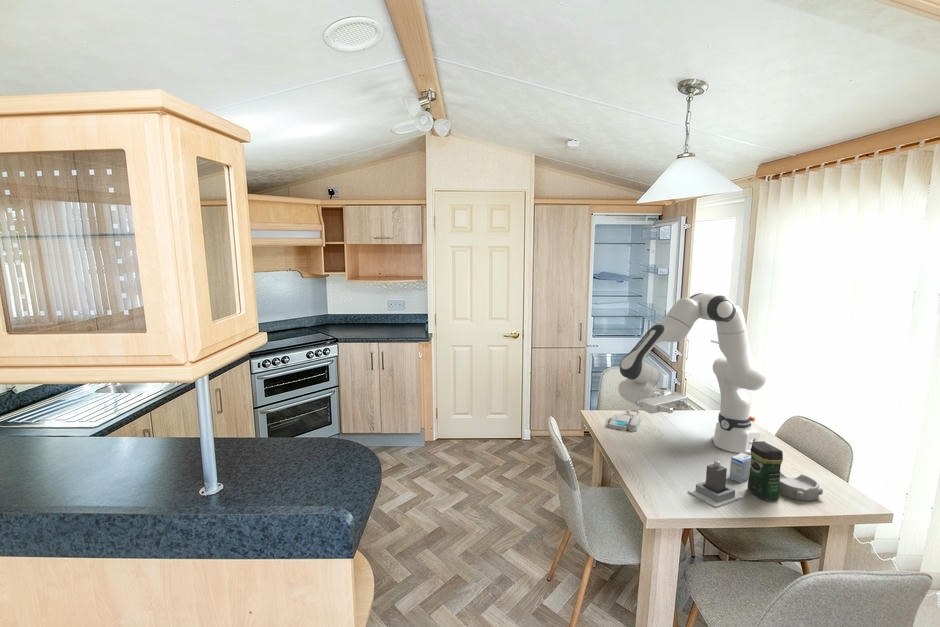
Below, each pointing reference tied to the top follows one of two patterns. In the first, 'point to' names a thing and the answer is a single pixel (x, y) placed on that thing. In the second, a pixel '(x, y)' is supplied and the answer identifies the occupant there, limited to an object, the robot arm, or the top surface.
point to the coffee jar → (765, 470)
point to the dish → (800, 487)
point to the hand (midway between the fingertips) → (680, 408)
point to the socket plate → (714, 495)
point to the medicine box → (740, 467)
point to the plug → (716, 477)
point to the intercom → (626, 421)
